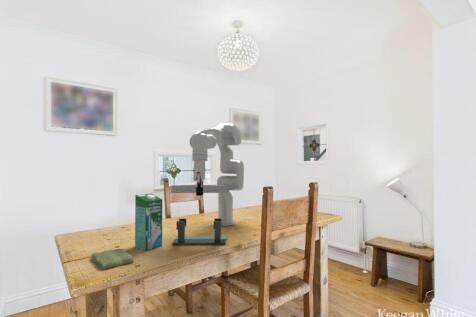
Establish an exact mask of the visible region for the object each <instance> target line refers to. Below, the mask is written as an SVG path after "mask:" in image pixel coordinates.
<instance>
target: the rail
mask: <svg viewBox="0 0 476 317" xmlns="http://www.w3.org/2000/svg"><path fill="white" fill-rule="evenodd" d="M202 187H203V193H204V194H214V193H215V194H218V193H228V185H217V184H205V185H204V184H203V185H202ZM170 192H171V194H196V184H180V185H179V184H172V185H170Z"/></svg>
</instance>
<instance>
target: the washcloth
mask: <svg viewBox="0 0 476 317" xmlns="http://www.w3.org/2000/svg"><path fill="white" fill-rule="evenodd" d="M90 259H91V261H92V262H93V263H94V264H95V265H96V266H97V267H99V268H100V269H101V270H108V269H111V268H116V267H119V266H125V265H128V264H132V263H134V261H135V259H134V256H132V254H129V253H128V252H127V251H125V250H124V249H123V248H116V249H108V250H104V251H101V252H94V253H92V254H91V257H90Z"/></svg>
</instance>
